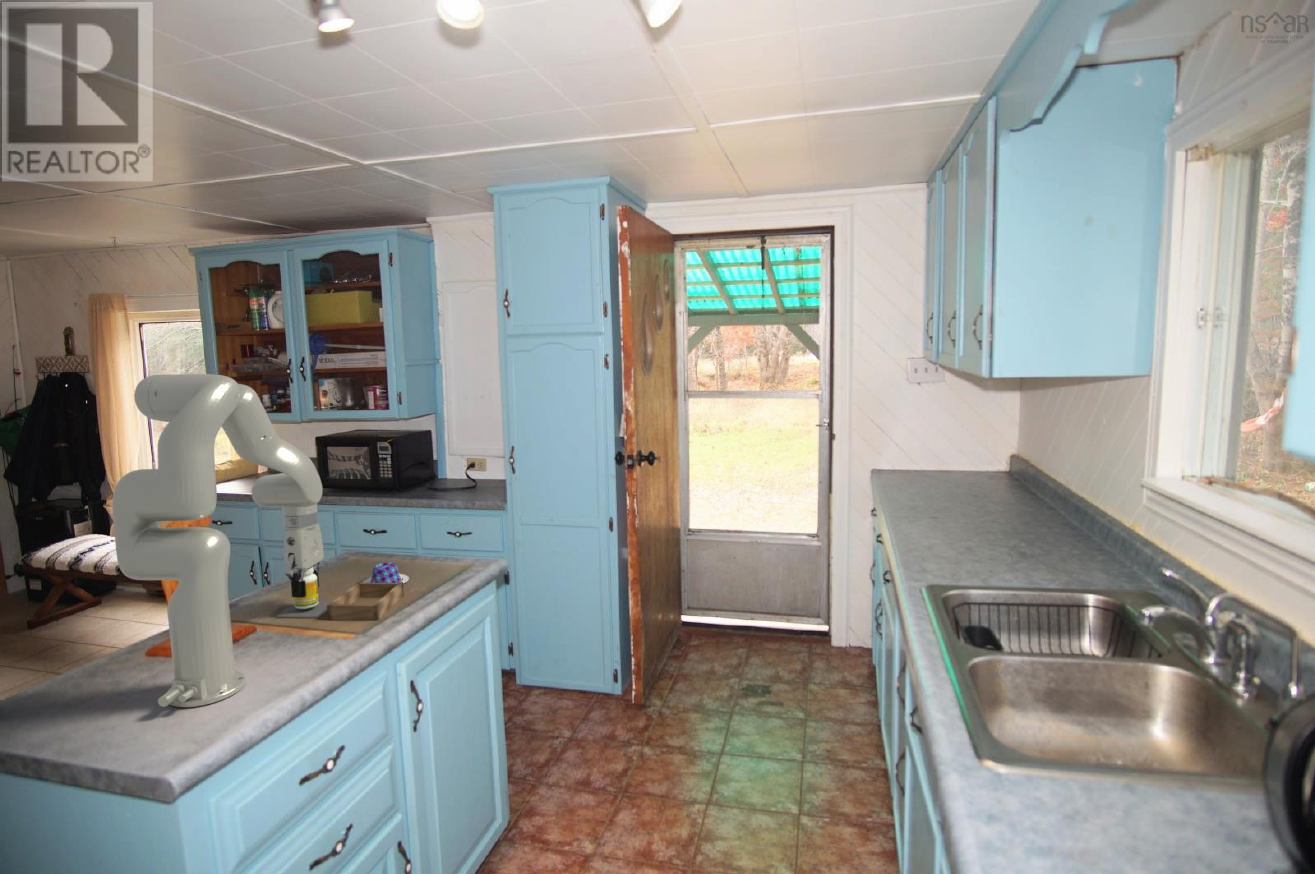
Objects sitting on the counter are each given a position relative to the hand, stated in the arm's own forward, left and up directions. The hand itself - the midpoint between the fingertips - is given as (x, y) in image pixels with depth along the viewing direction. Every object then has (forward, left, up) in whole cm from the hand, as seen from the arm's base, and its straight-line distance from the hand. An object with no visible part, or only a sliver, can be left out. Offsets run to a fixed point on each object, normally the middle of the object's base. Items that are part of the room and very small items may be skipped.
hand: (305, 591), depth 169 cm
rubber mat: (0, 0, -5) cm, 5 cm away
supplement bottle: (0, 0, -4) cm, 4 cm away
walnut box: (+2, -14, -5) cm, 15 cm away
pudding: (+20, -11, -5) cm, 24 cm away
